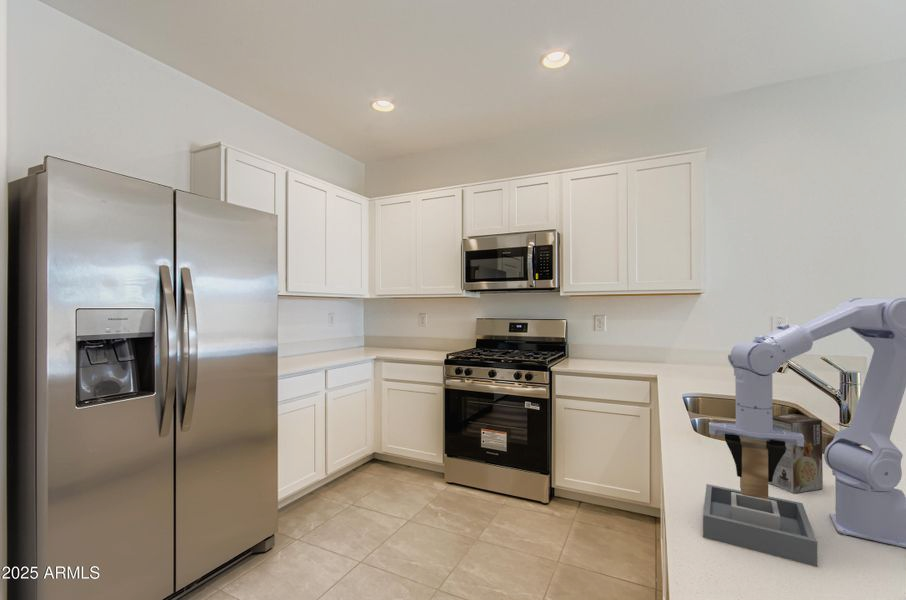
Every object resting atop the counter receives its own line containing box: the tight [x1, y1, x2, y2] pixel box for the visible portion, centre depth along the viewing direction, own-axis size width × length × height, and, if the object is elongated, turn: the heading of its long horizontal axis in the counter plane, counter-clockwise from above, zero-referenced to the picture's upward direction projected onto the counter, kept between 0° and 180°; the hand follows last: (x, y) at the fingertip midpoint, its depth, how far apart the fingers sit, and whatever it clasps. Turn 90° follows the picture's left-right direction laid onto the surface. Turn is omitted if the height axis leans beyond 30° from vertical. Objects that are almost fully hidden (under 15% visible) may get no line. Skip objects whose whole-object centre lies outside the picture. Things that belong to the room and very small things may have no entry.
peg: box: [739, 440, 769, 500], centre depth 80 cm, size 4×4×9 cm
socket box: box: [702, 483, 818, 567], centre depth 80 cm, size 16×16×5 cm
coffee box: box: [768, 413, 824, 494], centre depth 99 cm, size 9×6×16 cm
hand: (754, 477), depth 80 cm, fingers closed on peg, 4 cm apart
